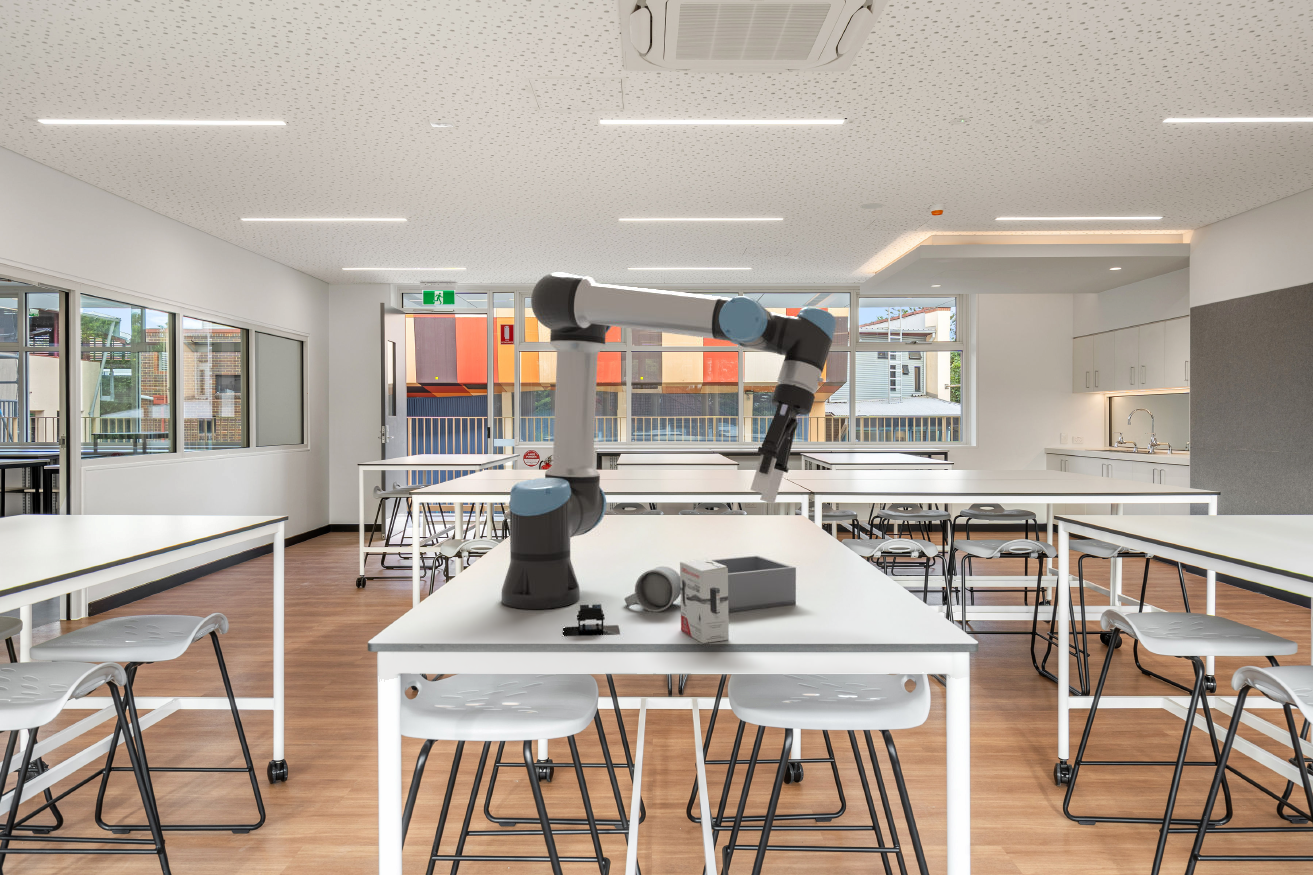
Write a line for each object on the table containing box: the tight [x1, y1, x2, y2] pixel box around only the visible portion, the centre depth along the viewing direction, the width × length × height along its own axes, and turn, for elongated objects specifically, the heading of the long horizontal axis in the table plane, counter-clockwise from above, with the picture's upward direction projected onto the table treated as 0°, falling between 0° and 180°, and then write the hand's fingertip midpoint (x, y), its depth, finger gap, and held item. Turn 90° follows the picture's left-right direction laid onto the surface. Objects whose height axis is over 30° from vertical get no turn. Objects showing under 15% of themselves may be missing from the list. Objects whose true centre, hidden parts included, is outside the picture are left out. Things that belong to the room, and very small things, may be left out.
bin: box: [710, 555, 797, 614], centre depth 141 cm, size 14×17×7 cm
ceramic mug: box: [624, 565, 681, 613], centre depth 137 cm, size 11×8×8 cm
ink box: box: [679, 558, 730, 644], centre depth 118 cm, size 8×5×12 cm, turn 23°
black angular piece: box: [561, 603, 621, 637], centre depth 121 cm, size 12×7×5 cm, turn 96°
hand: (762, 497), depth 133 cm, fingers open, 13 cm apart
